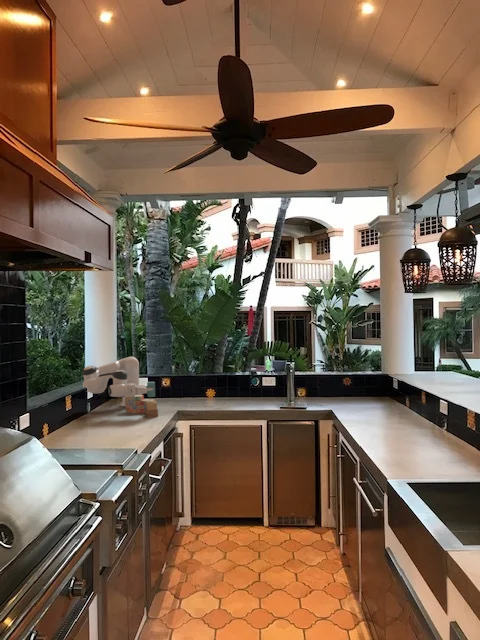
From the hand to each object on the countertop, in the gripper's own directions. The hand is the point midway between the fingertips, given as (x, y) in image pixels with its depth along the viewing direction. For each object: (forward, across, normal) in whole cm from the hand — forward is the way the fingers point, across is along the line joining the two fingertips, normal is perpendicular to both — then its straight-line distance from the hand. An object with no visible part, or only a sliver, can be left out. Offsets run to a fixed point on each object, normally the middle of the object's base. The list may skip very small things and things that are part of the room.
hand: (152, 388), depth 342 cm
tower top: (-1, 0, -15) cm, 15 cm away
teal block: (-1, 0, -6) cm, 6 cm away
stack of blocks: (-7, -18, -20) cm, 28 cm away
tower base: (-1, 0, -20) cm, 20 cm away
